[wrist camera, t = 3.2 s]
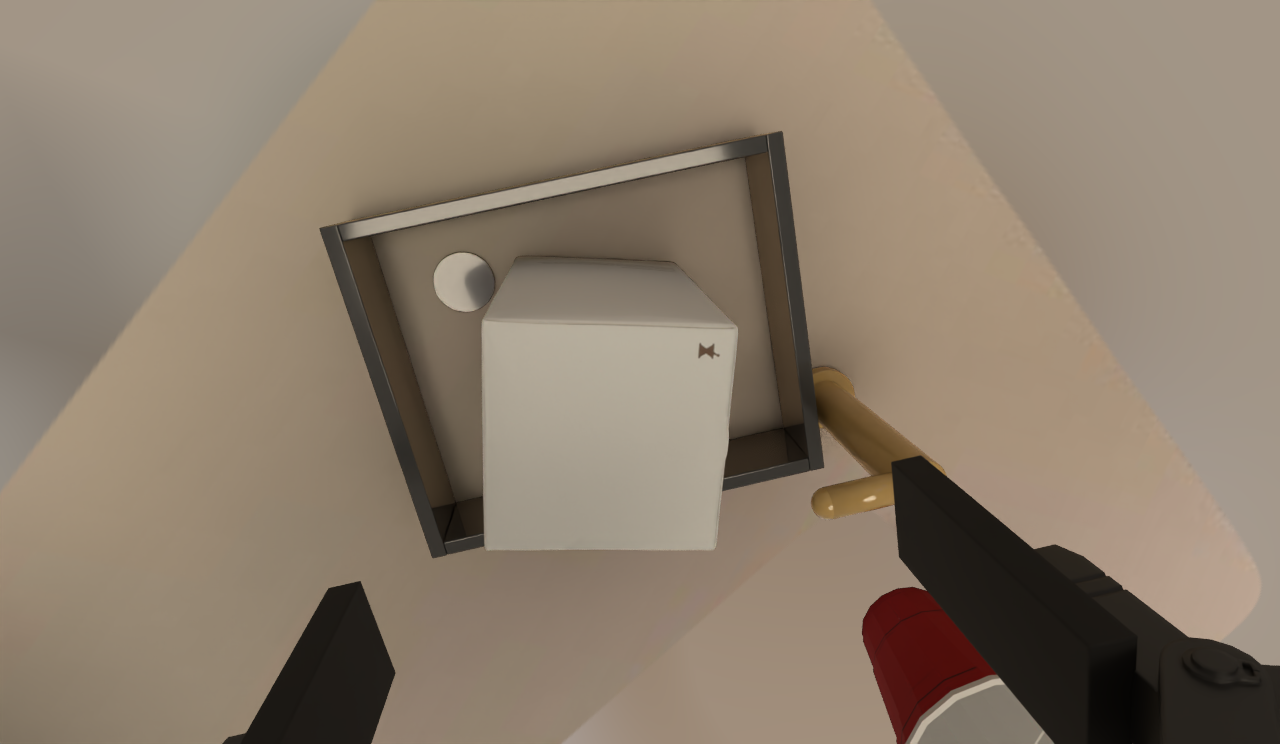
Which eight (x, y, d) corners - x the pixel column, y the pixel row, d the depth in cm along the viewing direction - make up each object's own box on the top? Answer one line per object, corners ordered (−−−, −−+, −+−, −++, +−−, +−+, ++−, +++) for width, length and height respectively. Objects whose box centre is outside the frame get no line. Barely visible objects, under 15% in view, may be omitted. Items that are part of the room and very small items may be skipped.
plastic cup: (885, 524, 43) (999, 653, 32) (1006, 591, 46) (1151, 732, 35) (790, 650, 46) (865, 812, 34) (910, 707, 48) (1017, 876, 37)
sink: (446, 516, 40) (397, 662, 28) (349, 220, 35) (238, 248, 23) (853, 423, 41) (967, 526, 29) (820, 121, 36) (945, 100, 24)
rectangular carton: (511, 251, 36) (475, 309, 22) (677, 260, 37) (747, 320, 23) (510, 411, 38) (477, 557, 24) (665, 415, 40) (721, 556, 25)
